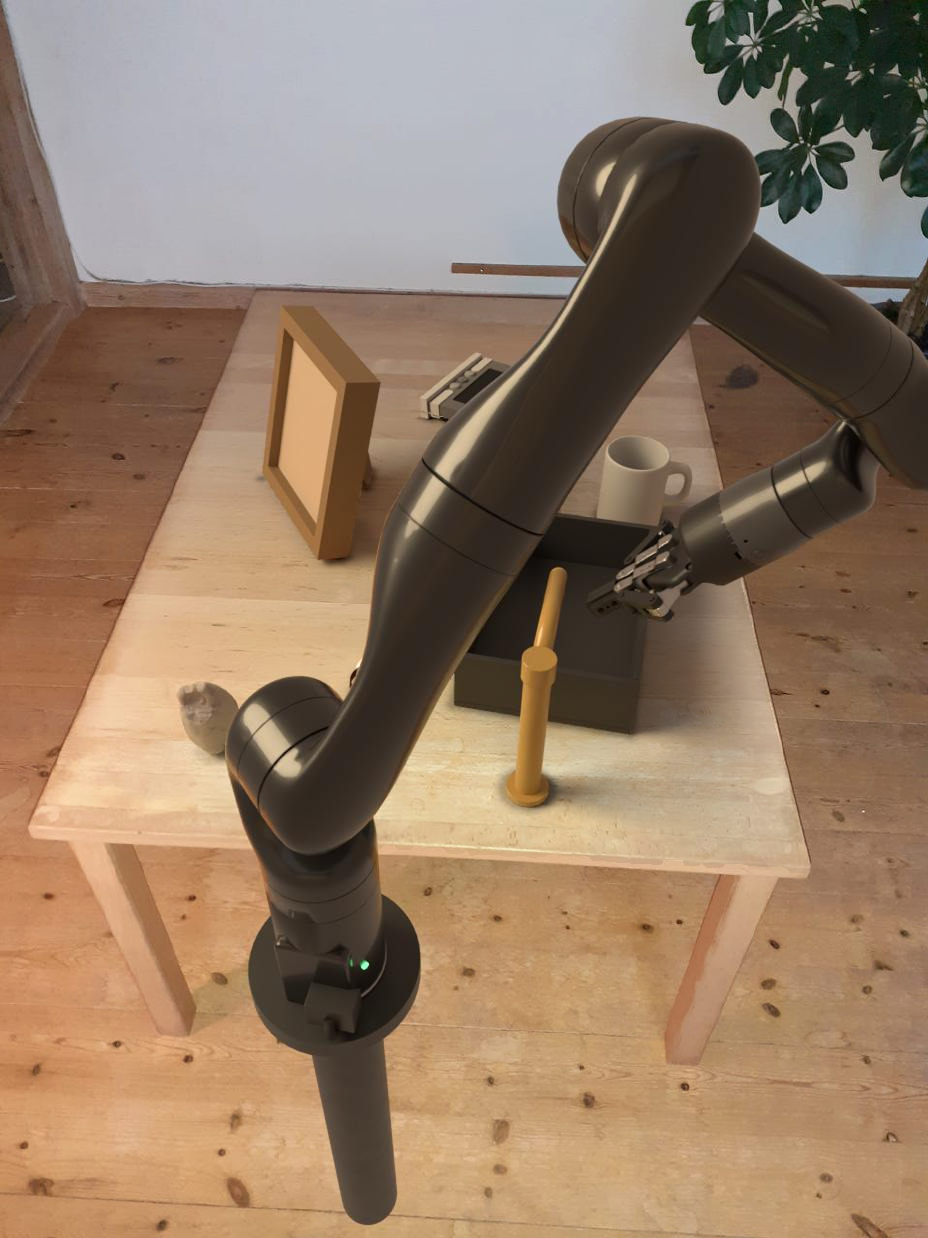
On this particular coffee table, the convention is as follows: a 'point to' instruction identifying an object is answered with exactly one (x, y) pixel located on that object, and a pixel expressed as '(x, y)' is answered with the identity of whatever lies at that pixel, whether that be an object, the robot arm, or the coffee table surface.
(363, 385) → the photo frame
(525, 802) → the faucet column
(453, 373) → the alarm clock
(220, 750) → the fossil
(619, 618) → the sink
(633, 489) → the mug
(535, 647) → the faucet spout
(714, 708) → the coffee table surface
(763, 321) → the robot arm
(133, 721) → the coffee table surface
